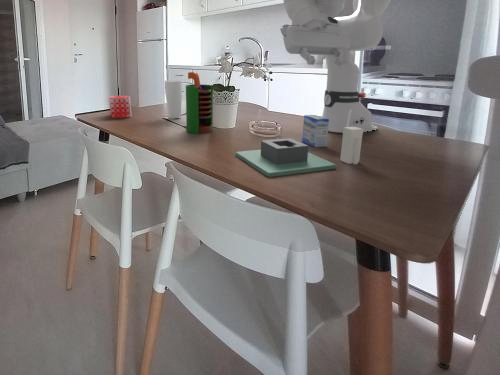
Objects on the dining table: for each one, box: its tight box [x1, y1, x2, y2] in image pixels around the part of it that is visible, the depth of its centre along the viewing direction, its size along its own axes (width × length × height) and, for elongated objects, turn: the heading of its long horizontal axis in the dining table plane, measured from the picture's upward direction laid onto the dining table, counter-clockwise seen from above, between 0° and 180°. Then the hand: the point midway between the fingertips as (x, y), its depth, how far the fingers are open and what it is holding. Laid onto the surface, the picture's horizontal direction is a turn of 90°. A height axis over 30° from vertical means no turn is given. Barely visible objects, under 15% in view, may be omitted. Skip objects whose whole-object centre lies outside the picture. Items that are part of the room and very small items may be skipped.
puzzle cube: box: [108, 95, 132, 119], centre depth 157 cm, size 8×8×8 cm
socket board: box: [235, 137, 337, 178], centre depth 97 cm, size 19×20×5 cm
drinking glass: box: [164, 79, 183, 119], centre depth 153 cm, size 7×7×15 cm
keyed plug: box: [339, 127, 364, 165], centre depth 98 cm, size 4×4×9 cm
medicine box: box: [301, 114, 329, 148], centre depth 116 cm, size 8×4×9 cm, turn 23°
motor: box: [185, 71, 214, 134], centre depth 129 cm, size 10×9×20 cm
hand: (326, 63), depth 103 cm, fingers open, 8 cm apart
